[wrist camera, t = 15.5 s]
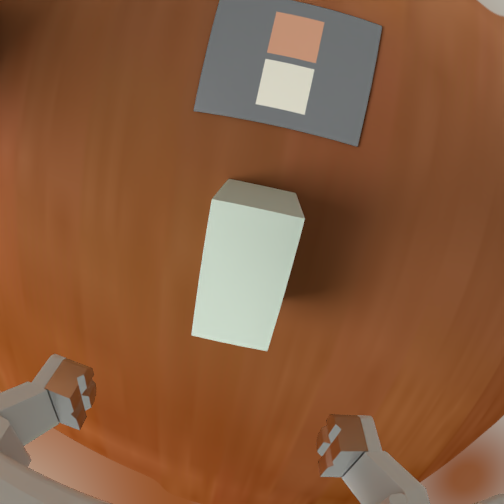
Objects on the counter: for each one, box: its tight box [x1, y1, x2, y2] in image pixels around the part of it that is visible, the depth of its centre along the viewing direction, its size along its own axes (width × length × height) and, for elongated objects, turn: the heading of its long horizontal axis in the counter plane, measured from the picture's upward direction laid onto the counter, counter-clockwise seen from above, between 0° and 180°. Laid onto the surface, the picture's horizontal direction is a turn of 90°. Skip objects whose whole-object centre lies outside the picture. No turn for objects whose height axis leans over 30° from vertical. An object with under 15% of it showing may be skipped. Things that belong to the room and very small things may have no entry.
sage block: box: [192, 179, 305, 351], centre depth 22 cm, size 5×9×7 cm, turn 168°
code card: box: [194, 0, 382, 147], centre depth 20 cm, size 12×10×1 cm
